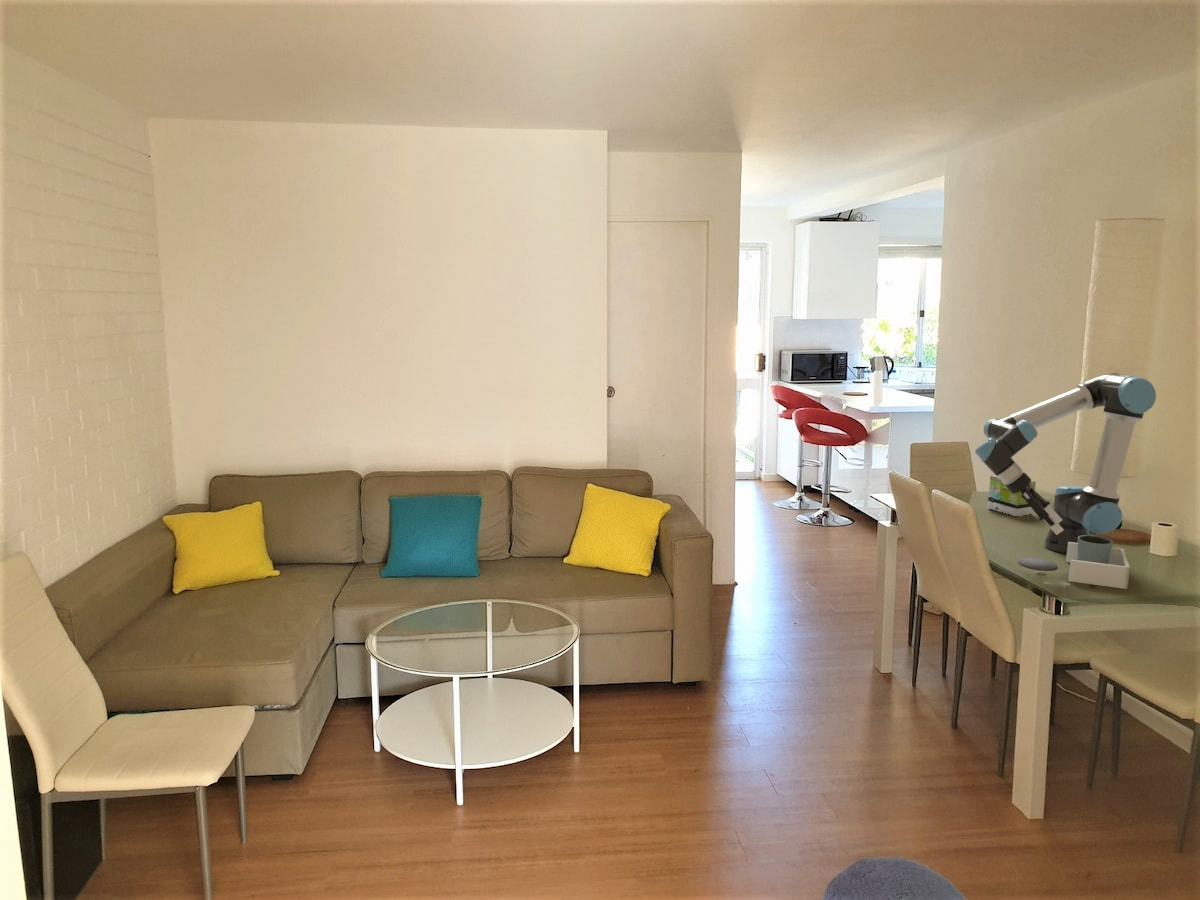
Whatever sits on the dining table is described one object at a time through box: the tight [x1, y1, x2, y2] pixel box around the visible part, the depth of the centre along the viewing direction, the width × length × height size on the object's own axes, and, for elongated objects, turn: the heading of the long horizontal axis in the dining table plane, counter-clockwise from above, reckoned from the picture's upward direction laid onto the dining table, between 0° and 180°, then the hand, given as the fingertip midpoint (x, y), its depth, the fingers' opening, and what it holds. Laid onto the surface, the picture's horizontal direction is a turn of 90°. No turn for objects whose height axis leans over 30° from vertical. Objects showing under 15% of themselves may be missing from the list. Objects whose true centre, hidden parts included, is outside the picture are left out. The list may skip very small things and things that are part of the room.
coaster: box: [1017, 557, 1058, 571], centre depth 299 cm, size 12×12×1 cm
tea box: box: [987, 474, 1037, 517], centre depth 367 cm, size 15×10×15 cm
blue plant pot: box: [1077, 534, 1114, 564], centre depth 288 cm, size 10×10×12 cm
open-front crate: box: [1065, 542, 1131, 590], centre depth 288 cm, size 23×16×7 cm
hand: (1059, 527), depth 291 cm, fingers open, 13 cm apart
